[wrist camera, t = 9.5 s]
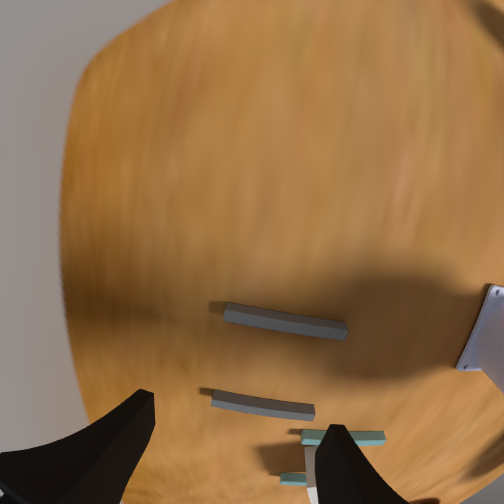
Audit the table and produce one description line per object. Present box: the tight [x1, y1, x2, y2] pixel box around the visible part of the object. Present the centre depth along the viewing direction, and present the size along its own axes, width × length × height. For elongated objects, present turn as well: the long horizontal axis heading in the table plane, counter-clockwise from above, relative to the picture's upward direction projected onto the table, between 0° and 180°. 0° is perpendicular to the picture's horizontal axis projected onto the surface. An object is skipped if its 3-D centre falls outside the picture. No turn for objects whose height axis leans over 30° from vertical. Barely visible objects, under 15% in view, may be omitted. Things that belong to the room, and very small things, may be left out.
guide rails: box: [211, 302, 386, 486], centre depth 20 cm, size 16×20×1 cm
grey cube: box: [304, 445, 319, 504], centre depth 20 cm, size 4×5×5 cm
